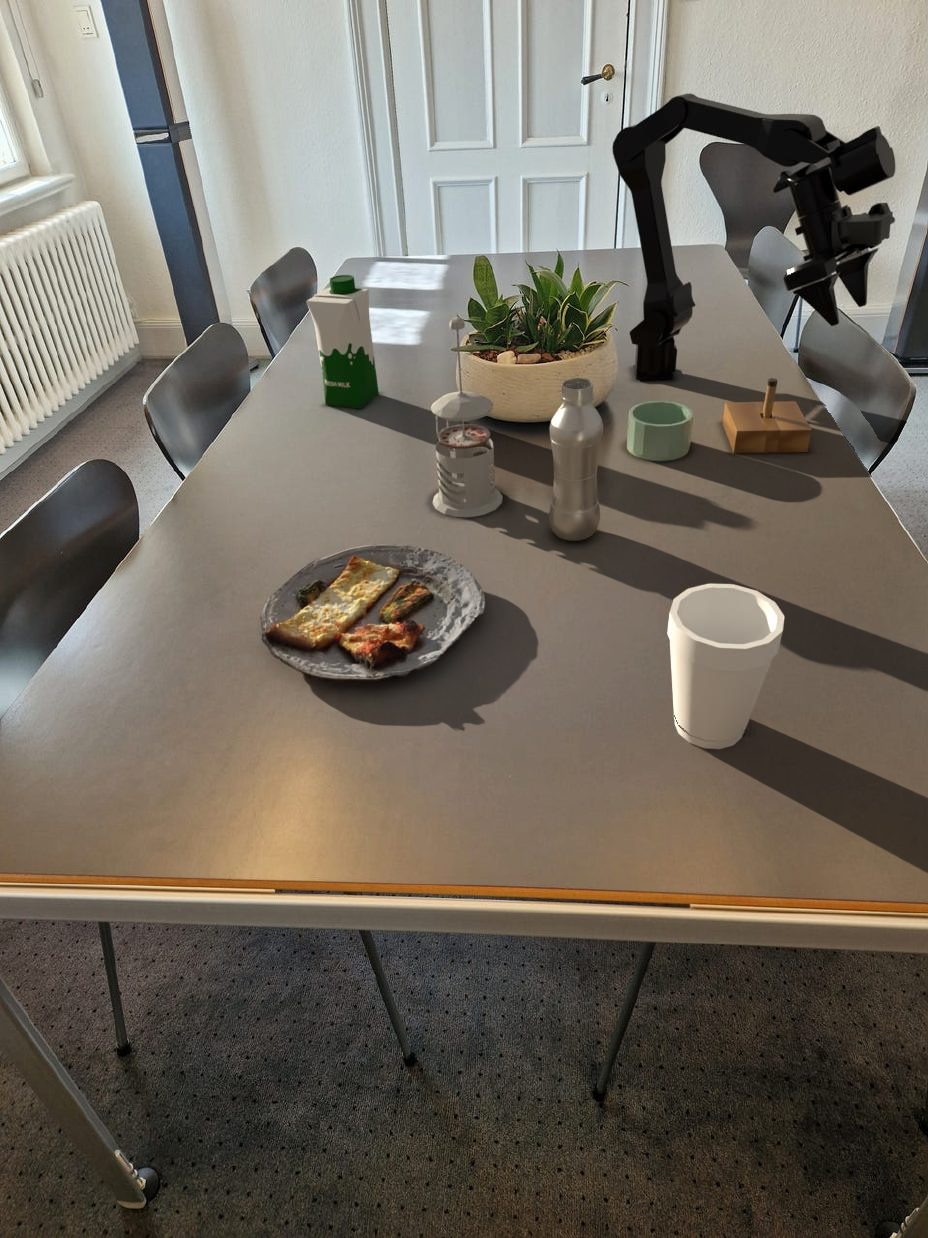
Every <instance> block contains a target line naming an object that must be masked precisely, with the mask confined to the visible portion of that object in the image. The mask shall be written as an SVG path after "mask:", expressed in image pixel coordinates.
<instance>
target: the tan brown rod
mask: <svg viewBox="0 0 928 1238" xmlns="http://www.w3.org/2000/svg"><path fill="white" fill-rule="evenodd" d="M777 386H778V378H775V377H774V378H772V377H771V378H768V380H767V384H766V390H765V392H766V393H765V397H764V402H765V403H764V409H763V413H764V415H763V418H770V416H771V413H772V410H773V405H774V402H775V399H776V393H777V388H778V387H777Z"/></svg>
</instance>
